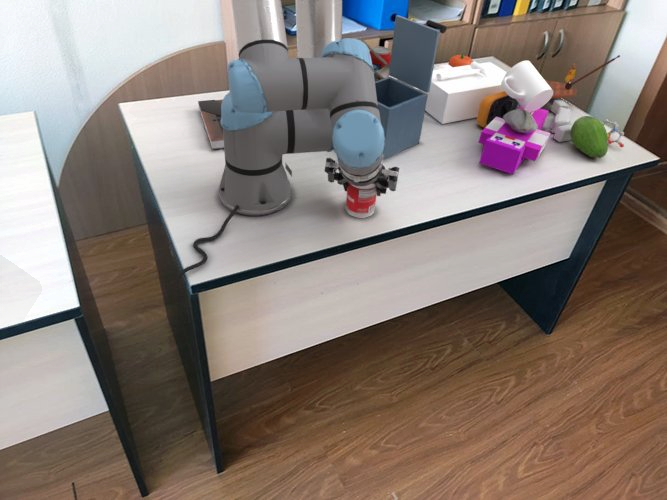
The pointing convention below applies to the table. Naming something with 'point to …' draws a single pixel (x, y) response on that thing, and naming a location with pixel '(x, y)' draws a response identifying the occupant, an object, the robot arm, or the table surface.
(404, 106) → the blue-grey hollow box
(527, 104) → the mug
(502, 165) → the toy
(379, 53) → the beverage can
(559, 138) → the grey segmented bar
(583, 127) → the avocado
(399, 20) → the lid
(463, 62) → the pumpkin
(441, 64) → the geometric ball
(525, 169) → the table surface
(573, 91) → the incense holder
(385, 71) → the wall hook
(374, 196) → the pill bottle
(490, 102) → the multimeter
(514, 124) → the grey rock
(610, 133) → the molecular model
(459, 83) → the tissue box
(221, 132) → the picture frame
